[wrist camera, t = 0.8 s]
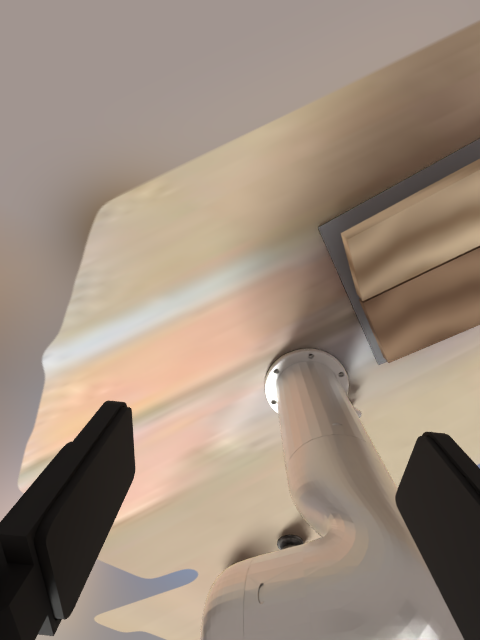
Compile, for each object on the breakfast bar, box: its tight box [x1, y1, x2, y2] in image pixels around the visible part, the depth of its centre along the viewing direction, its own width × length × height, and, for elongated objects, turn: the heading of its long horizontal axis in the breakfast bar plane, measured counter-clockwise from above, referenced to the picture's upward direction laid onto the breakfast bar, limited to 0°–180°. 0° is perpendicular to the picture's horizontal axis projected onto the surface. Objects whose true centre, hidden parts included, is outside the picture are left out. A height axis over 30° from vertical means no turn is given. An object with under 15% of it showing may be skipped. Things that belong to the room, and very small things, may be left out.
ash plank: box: [341, 159, 480, 301], centre depth 31 cm, size 10×20×2 cm, turn 119°
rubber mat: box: [318, 138, 480, 365], centre depth 35 cm, size 22×22×1 cm
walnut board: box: [359, 246, 480, 363], centre depth 36 cm, size 10×20×2 cm, turn 119°
